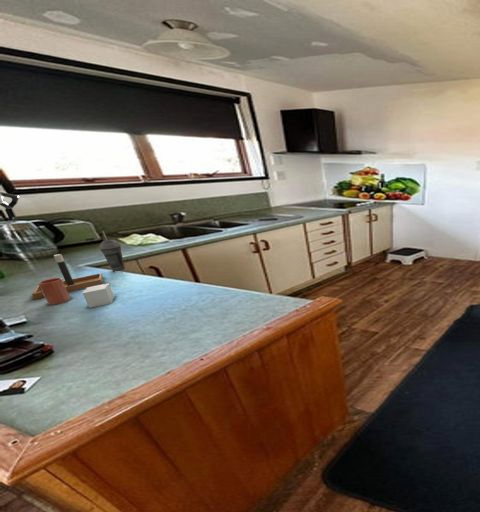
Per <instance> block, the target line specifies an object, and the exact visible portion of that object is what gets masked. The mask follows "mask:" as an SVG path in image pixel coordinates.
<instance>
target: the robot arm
mask: <svg viewBox="0 0 480 512" xmlns="http://www.w3.org/2000/svg"><path fill="white" fill-rule="evenodd" d="M5 198H10V199H11V201H10V202H9V203H8V202H6V199H5ZM19 199H20V196H19V195H16V194H12V193H7V192H2V191H1V190H0V206H1V207H3V208H5V209H4V211H5V213H6V215H7V217H8V219H9V220H10V221H12V220H13V221H14V220H15V219H16V217H17V215H16V212H15V211H14V209H13V208H14V207H15V206H16V205H17V204H18V202H19Z"/></svg>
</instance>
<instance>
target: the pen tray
mask: <svg viewBox="0 0 480 512" xmlns="http://www.w3.org/2000/svg"><path fill="white" fill-rule="evenodd" d="M102 273H103V272H100V273H96V274H91V275H90V274H89V275H85V276H81V277H77V278H76V277H75V278H72V280H73V282H74V284H75V285H70V286H67V284H66V281H65V280H63V282H64V284H65V286H66V288H67V291H68V293H69V292H75V291H78V290H82V289H86V288H87V287H92V286H97V285H102V284H104V275H103V274H102ZM31 296H32V298H33V300H37V299H42V298H45V296H44V294H43V292H42V290H41V288H40V286H39V285H37V286H36V287H35V288H34V290H33V292H32V293H31Z"/></svg>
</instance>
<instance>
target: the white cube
mask: <svg viewBox="0 0 480 512" xmlns="http://www.w3.org/2000/svg"><path fill="white" fill-rule="evenodd" d="M82 295H83V297H84V300H85V302H86V304H87V306H88V308H89V309H90V308H94V307H100V306H103V305H108V304H112V303H113V301H114V299H115V295H114V292H113V289H112V288H111V284H110V282H108V283H103V284H101V285H96V286H92V287H87V288H84V290H83V292H82Z"/></svg>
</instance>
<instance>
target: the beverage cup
mask: <svg viewBox="0 0 480 512" xmlns="http://www.w3.org/2000/svg"><path fill="white" fill-rule="evenodd" d="M101 232H102V234H103V237H104V240H103V241H101V242H100V245H99V250H100V252H101V253H102V255H103V256H104V258H105V260H106V262H107V264H108V266H109V267H110V269H111V270H112V272H113V273H116V272H121V271H125V269H126V267H125V261H124V258H123V254H122V246H121V244H120V243H119V241H117V240H115V239H108V237H107V236H106V233H105V231H104V230H101Z"/></svg>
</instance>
